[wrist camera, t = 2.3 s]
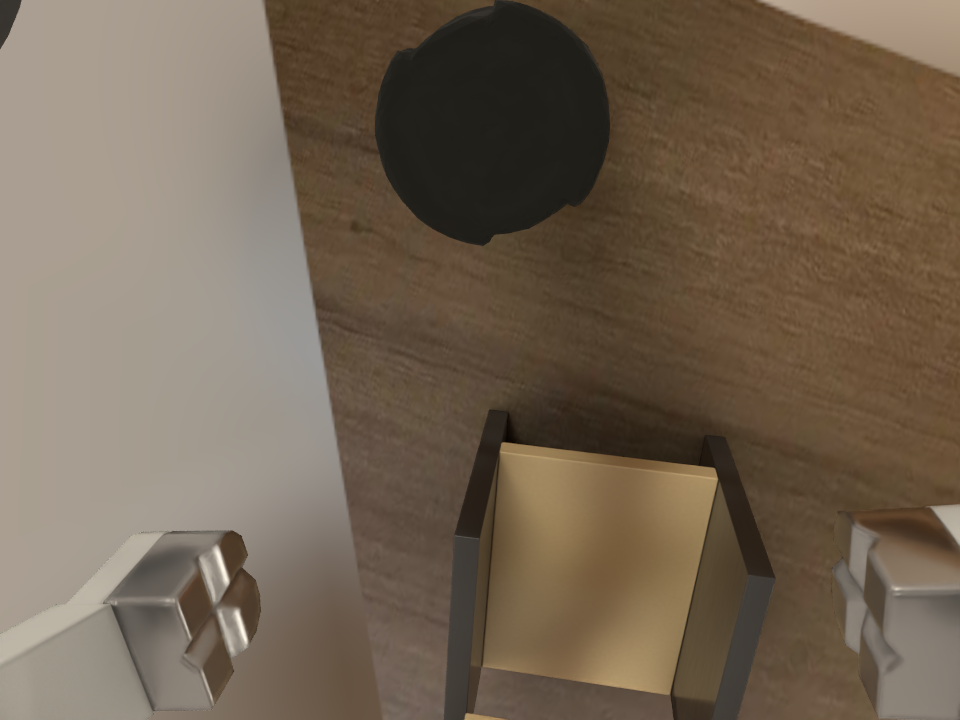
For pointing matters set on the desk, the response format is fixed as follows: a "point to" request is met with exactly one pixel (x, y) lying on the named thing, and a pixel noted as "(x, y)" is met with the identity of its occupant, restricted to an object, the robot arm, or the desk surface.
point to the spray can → (493, 122)
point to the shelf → (606, 575)
